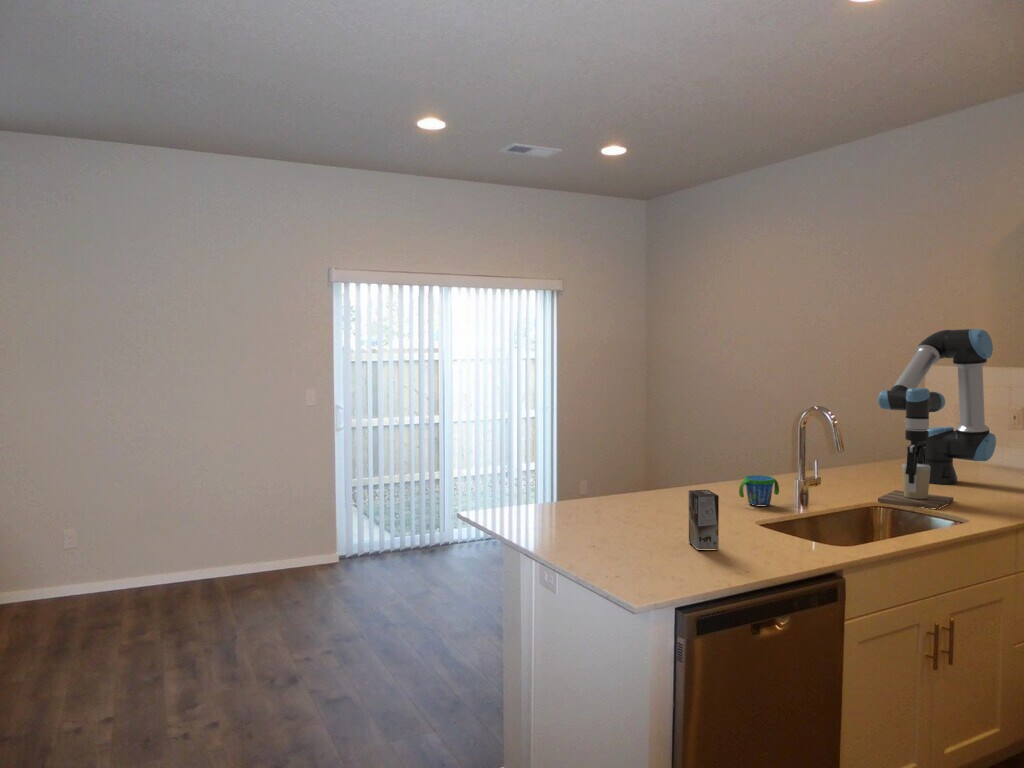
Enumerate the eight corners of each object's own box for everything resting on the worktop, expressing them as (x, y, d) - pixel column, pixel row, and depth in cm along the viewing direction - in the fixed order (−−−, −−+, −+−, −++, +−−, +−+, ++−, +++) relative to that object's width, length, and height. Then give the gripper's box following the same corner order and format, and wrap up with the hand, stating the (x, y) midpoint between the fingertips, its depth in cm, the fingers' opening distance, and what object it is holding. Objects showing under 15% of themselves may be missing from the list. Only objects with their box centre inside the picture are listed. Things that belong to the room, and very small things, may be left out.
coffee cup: (923, 494, 276) (923, 462, 275) (935, 499, 266) (935, 466, 266) (897, 493, 277) (897, 462, 276) (908, 499, 267) (908, 466, 267)
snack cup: (746, 509, 262) (746, 481, 261) (732, 502, 272) (732, 475, 272) (786, 507, 264) (786, 479, 264) (771, 501, 275) (771, 474, 274)
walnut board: (895, 493, 286) (895, 490, 286) (953, 501, 272) (953, 497, 271) (877, 502, 271) (877, 498, 271) (937, 510, 257) (938, 505, 257)
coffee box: (719, 551, 209) (719, 495, 208) (697, 551, 208) (698, 496, 208) (708, 542, 218) (708, 489, 217) (687, 543, 217) (687, 489, 217)
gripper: (914, 426, 280) (913, 484, 282) (896, 431, 265) (895, 493, 266) (936, 427, 275) (935, 487, 276) (919, 433, 260) (918, 495, 261)
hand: (915, 490), depth 271 cm, fingers closed on coffee cup, 9 cm apart
